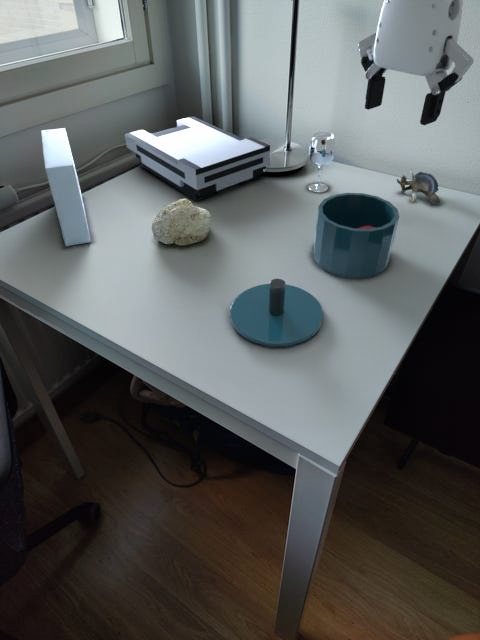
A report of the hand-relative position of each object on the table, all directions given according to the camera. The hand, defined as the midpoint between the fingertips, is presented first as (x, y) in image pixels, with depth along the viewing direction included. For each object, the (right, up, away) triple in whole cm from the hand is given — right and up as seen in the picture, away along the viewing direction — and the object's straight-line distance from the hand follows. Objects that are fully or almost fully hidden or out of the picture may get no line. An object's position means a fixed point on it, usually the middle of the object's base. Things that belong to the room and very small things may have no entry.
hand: (399, 114), depth 67 cm
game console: (-34, +8, +49) cm, 60 cm away
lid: (-18, -29, +6) cm, 34 cm away
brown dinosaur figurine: (+16, -3, +35) cm, 39 cm away
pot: (-3, -18, +19) cm, 26 cm away
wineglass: (-5, +1, +40) cm, 41 cm away
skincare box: (-58, -9, +31) cm, 67 cm away
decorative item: (-35, -14, +25) cm, 45 cm away
